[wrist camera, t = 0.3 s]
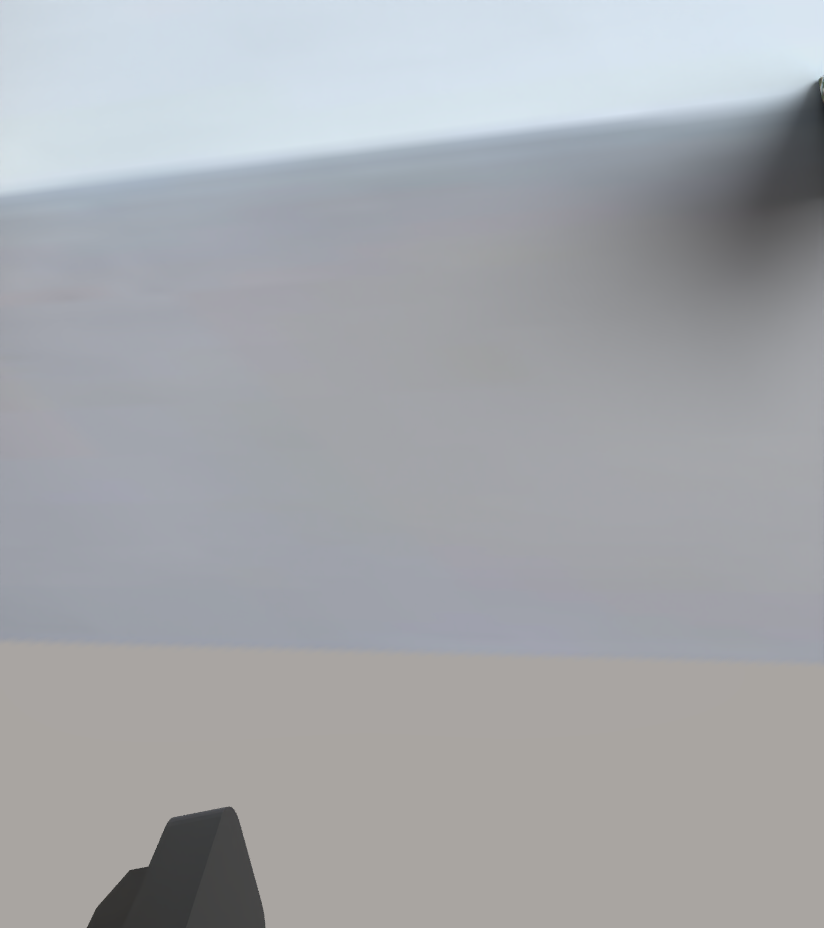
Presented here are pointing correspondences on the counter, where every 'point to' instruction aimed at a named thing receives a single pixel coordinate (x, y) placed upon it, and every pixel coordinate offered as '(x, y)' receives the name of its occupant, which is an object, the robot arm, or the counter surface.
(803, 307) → the counter surface
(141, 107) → the counter surface
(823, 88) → the syrup box
